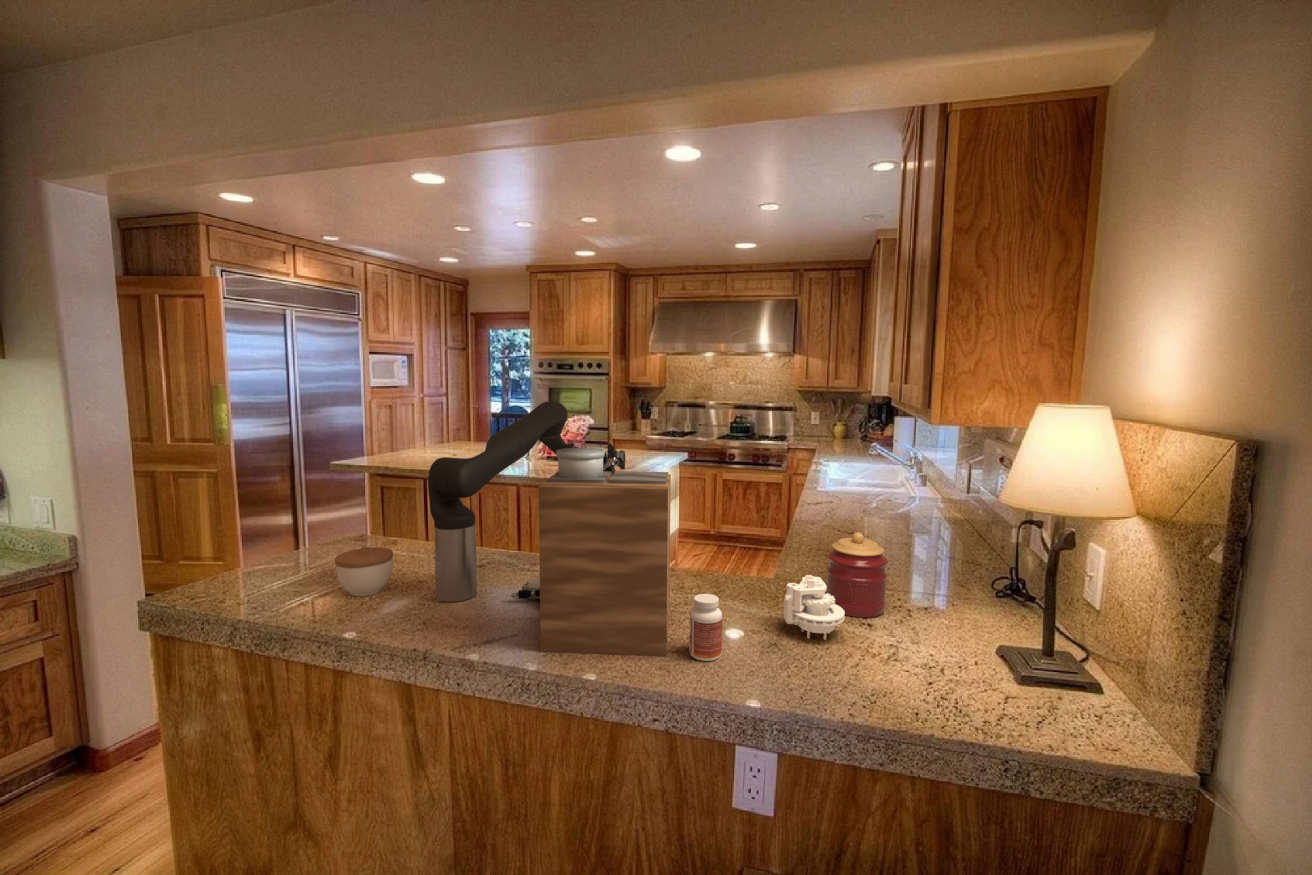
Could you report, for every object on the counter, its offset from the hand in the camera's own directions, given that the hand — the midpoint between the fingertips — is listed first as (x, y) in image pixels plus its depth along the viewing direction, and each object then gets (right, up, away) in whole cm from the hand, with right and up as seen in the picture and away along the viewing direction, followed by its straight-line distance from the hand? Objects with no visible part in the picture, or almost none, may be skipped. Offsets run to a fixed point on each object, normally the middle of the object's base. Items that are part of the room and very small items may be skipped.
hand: (590, 447), depth 126 cm
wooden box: (+5, -38, -10) cm, 40 cm away
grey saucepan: (0, -5, -4) cm, 7 cm away
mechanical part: (+47, -39, -8) cm, 61 cm away
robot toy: (-11, -37, +9) cm, 39 cm away
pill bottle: (+24, -39, -18) cm, 49 cm away
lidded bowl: (-56, -36, +13) cm, 68 cm away
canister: (+60, -37, +6) cm, 71 cm away
